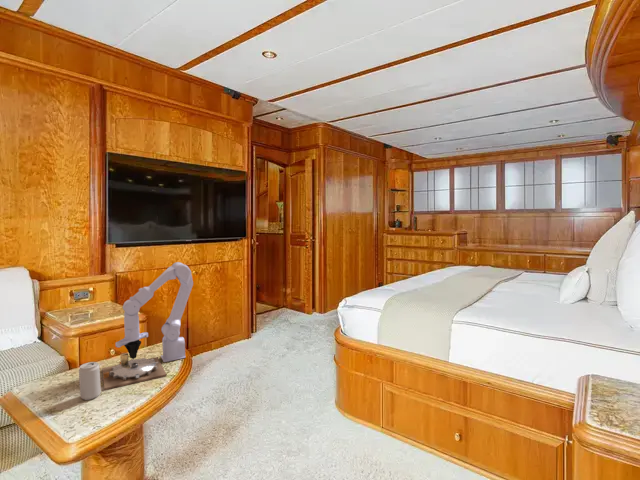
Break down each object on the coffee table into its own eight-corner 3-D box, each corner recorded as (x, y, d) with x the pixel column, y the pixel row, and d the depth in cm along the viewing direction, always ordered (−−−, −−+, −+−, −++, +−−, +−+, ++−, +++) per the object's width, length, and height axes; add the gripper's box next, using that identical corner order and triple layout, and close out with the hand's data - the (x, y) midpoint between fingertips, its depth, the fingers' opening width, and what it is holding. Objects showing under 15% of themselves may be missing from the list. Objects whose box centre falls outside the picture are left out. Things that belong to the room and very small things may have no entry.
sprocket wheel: (167, 365, 158) (167, 353, 157) (129, 383, 142) (128, 370, 141) (139, 358, 166) (139, 346, 166) (100, 374, 150) (99, 361, 149)
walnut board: (157, 358, 168) (157, 353, 168) (166, 376, 151) (166, 370, 151) (102, 369, 157) (101, 364, 156) (104, 390, 139) (104, 384, 139)
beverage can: (104, 392, 137) (103, 361, 136) (92, 401, 131) (90, 369, 130) (88, 391, 138) (87, 360, 137) (76, 400, 132) (74, 368, 131)
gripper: (140, 321, 167) (141, 350, 168) (110, 331, 154) (111, 362, 155) (151, 323, 164) (152, 353, 165) (121, 333, 151) (122, 365, 152)
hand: (133, 357), depth 160 cm, fingers closed
